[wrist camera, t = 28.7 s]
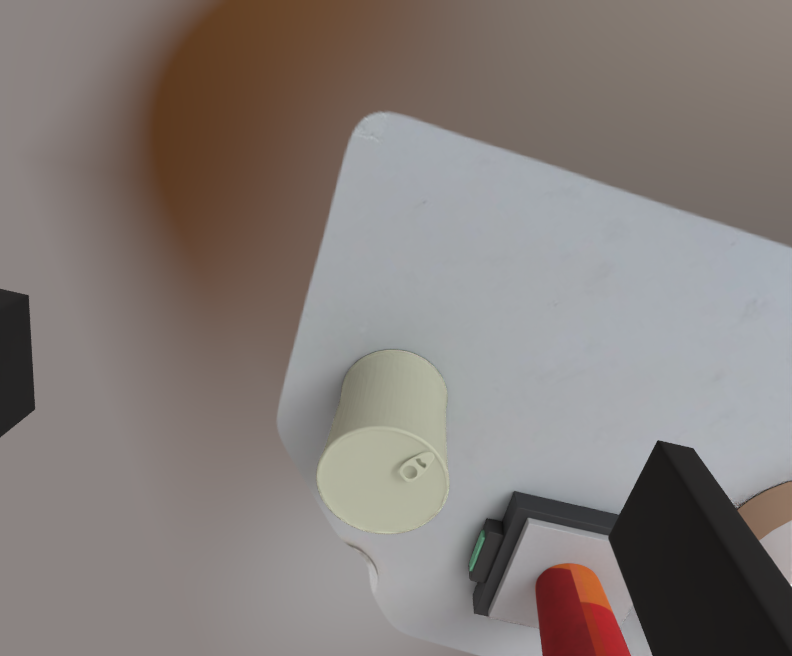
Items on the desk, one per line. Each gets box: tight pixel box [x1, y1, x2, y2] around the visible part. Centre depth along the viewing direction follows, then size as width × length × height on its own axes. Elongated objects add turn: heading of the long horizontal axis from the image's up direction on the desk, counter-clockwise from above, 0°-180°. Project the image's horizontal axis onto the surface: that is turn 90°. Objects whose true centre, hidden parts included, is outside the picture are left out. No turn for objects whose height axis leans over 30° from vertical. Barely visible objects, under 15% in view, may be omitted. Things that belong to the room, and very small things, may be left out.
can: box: [316, 350, 449, 534], centre depth 42 cm, size 9×9×12 cm
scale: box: [469, 491, 633, 629], centre depth 53 cm, size 16×14×3 cm
